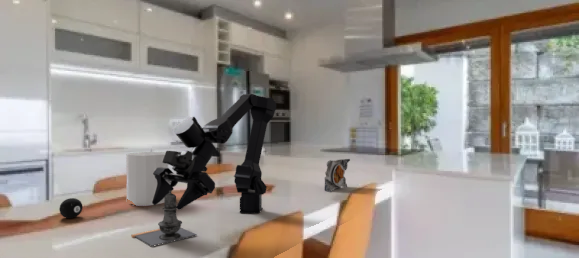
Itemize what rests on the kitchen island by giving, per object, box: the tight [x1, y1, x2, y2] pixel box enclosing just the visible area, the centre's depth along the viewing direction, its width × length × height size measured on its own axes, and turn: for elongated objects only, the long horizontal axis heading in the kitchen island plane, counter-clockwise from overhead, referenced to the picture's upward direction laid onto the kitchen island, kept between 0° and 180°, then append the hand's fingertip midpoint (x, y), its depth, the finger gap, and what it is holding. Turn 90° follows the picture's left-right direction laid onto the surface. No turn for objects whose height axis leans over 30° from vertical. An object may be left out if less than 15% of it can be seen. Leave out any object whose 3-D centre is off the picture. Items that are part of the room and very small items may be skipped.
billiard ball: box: [58, 197, 83, 219], centre depth 111 cm, size 6×6×6 cm
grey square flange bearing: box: [324, 158, 351, 193], centre depth 159 cm, size 15×4×13 cm, turn 142°
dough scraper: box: [130, 226, 198, 247], centre depth 94 cm, size 11×13×1 cm
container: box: [125, 151, 169, 207], centre depth 134 cm, size 14×14×18 cm
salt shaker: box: [157, 190, 183, 240], centre depth 92 cm, size 6×6×12 cm
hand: (165, 206), depth 91 cm, fingers open, 9 cm apart
